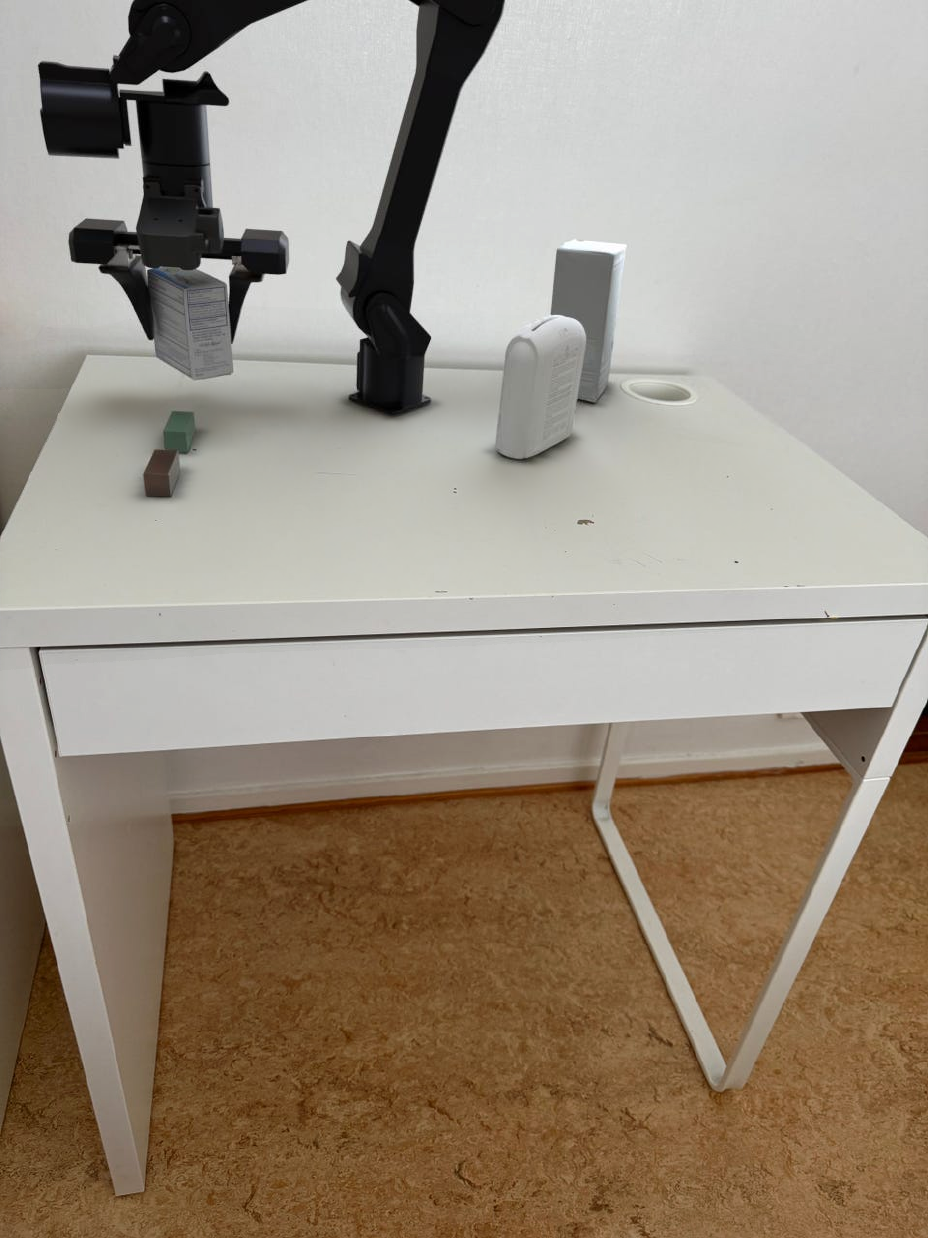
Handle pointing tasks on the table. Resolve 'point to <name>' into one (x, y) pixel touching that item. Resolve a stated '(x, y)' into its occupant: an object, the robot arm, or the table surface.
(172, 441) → the sage bar
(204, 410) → the table surface
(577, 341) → the photo printer
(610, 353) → the cosmetic box
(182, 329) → the medicine box
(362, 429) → the table surface
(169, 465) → the walnut bar
